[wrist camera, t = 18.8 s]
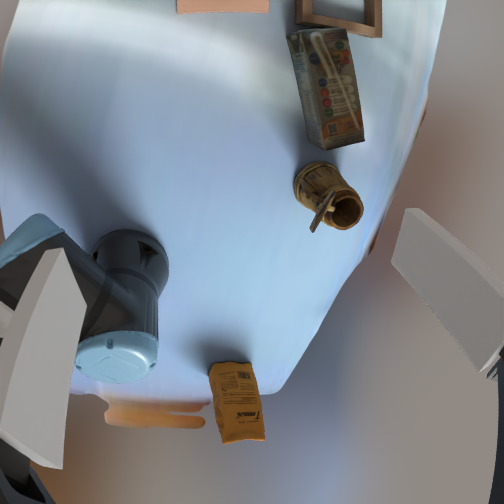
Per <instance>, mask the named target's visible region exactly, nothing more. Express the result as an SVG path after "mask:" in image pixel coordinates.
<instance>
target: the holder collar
mask: <svg viewBox="0 0 504 504" xmlns="http://www.w3.org/2000/svg"><path fill="white" fill-rule="evenodd" d="M295 4H296V24H298V25H306V26H314V27H320V28H345V29H346V31H347V32H348V33H353V34H357V35H362V36H366V37H370V38H382V0H365V25H363V24H359V23H355V22H351V21H346V20H342V19H337V18H332V17H326V16H321V15H314V14H313V11H312V0H295Z"/></svg>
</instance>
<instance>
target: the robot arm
mask: <svg viewBox="0 0 504 504" xmlns="http://www.w3.org/2000/svg"><path fill="white" fill-rule="evenodd" d="M391 264H392V265H393V266H394V267H395V268H396V269H397V270H398V271H399V273H400V274H401V275H402V276H403V277H404V278H405V279H406V280H407V281H408V283H409V284H410V285H411V286H412V287H413V289H415V291H416V292H417V293H418V295H419V296H420V297H421V298H422V299H423V300H424V302H425V303H426V304H427V305H428V307H429V308H430V309H431V310H432V311H433V313H434V314H435V315H436V316H437V318H438V319H439V320H440V321H441V323H442V324H443V325H444V326H445V328H446V329H447V330H448V332H449V333H450V334H451V336H452V337H453V338H454V340H455V341H456V342H457V343H458V345H459V346H460V348H461V349H462V350H463V352H464V353H465V354H466V356H467V357H468V359H469V360H470V361H471V363H472V364H473V366H474V367H475V369H476V370H477V371H478V372H480V371H482V370H483V369H484V368H486V367H487V366H489V365H490V364H491V362H492V361H493V360H494V358H495V357H496V356H497V355H498V354H499V355H500V356H501V358H500V359H499V360H498V361H497V363H496V364H495V365H494V366H493V367H492V369H491V370H490V371H489V372H488V374H487V379H489V378H490V377H491V376H492V375H493V374H494V373H495V372H496V371H497V373H496V374H495V375H494V376H493V377H492V380H494V381H498V393H499V394H498V395H499V418H498V419H499V420H498V440H497V452H496V462H495V470H494V477H493V483H492V489H491V494H490V499H489V504H504V283H503V281H501V279H500V278H498V276H497V275H495V273H493V272H492V271H491V270H490V269H489V268H488V267H487V266H486V265H485V264H484V263H483V262H482V261H481V260H480V259H479V258H478V257H476V256H475V255H474V254H473V253H472V252H471V251H470V250H469V249H468V248H467V247H465V246H464V245H463V244H462V243H461V242H460V241H458V240H457V239H456V238H455V237H454V236H453V235H451V234H450V233H449V232H448V231H447V230H445V229H444V228H443V227H442V226H441V225H439V224H438V223H437V222H436V221H434V220H433V219H432V218H431V217H429V216H428V215H427V214H425V213H424V212H423V211H422V210H420V209H419V208H408V209H405V213H404V217H403V221H402V225H401V229H400V232H399V236H398V239H397V243H396V247H395V250H394V253H393V257H392V260H391ZM168 275H169V262H168V258H167V255H166V253H165V251H164V249H163V248H162V246H161V245H160V244H159V243H158V242H157V241H156V240H155V239H153V238H152V237H150V236H149V235H147V234H145V233H142V232H139V231H135V230H117V231H113V232H110V233H108V234H106V235H105V236H103V237H102V238H101V239H100V240H99V241H98V242H97V243H96V244H95V246H94V248H93V250H92V253H91V256H89V255H88V254H87V253H86V252H85V251H84V250H83V249H82V248H80V247H79V246H78V245H77V244H76V243H75V242H74V241H73V240H72V239H71V238H70V237H69V236H68V235H67V234H66V233H65V230H64V229H60V228H59V227H58V226H57V225H56V224H55V223H54V222H53V221H52V220H51V219H49V218H48V217H47V216H46V215H44V214H40V213H38V214H34V215H32V216H30V217H29V218H28V219H27V220H25V221H24V222H23V223H22V224H21V225H20V226H19V227H18V228H17V229H16V230H15V231H14V232H13V233H12V234H11V235H10V236H9V237H8V238H7V239H6V240H5V241H4V242H3V244H2V245H1V246H0V504H56V503H55V502H54V500H53V499H52V497H51V496H50V494H49V493H48V491H47V490H46V489H45V487H44V485H43V484H42V482H41V480H40V479H39V477H38V475H37V474H36V472H35V471H34V470H33V468H32V467H31V466H29V465H30V459H31V460H33V461H35V462H36V463H38V464H40V465H41V466H46V467H51V468H58V469H63V449H64V435H65V424H66V414H67V405H68V398H69V391H70V385H71V378H72V372H73V367H74V364H75V365H76V368H77V369H78V370H79V371H80V372H81V373H83V374H84V375H86V376H87V377H89V378H92V379H94V380H97V381H101V382H106V383H129V382H134V381H137V380H140V379H142V378H144V377H146V376H147V375H148V374H150V373H151V372H152V370H153V369H154V367H155V365H156V362H157V350H158V348H159V341H158V298H159V297H160V295H161V293H162V291H163V289H164V287H165V285H166V283H167V280H168Z"/></svg>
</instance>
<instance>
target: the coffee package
mask: <svg viewBox="0 0 504 504" xmlns="http://www.w3.org/2000/svg"><path fill="white" fill-rule="evenodd" d="M209 383H210V387H211V390H212V393H213V402H214V409H215V418H216V423H217V425H218V428H219V432H220V434H221V438H222V442H223V444H228V443H232V442H236V441H240V440H244V439H250V440H258V441H259V440H261V441H264V440H265V434H264V432H265V430H264V424H263V415H262V405H261V401H260V395H259V391H258V386H257V381H256V378H255V374H254V372H253V368H252V365H251V363H243V364H239V363H236V362H223V363H214V364H213V366H212V368H211V370H210V372H209Z"/></svg>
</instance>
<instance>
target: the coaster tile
mask: <svg viewBox="0 0 504 504" xmlns="http://www.w3.org/2000/svg"><path fill="white" fill-rule="evenodd" d="M208 12H252V13H268V12H269V0H177V15H178V14H190V13H208Z"/></svg>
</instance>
